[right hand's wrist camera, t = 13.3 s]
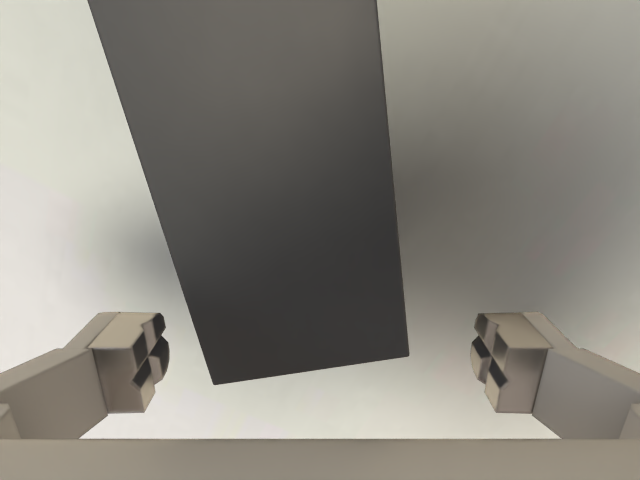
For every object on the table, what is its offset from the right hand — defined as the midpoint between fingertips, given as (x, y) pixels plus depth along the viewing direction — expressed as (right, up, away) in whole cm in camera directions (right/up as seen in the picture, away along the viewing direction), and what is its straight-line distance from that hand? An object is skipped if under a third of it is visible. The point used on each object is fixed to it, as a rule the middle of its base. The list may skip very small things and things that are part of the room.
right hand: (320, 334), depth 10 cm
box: (-2, +13, +6) cm, 15 cm away
